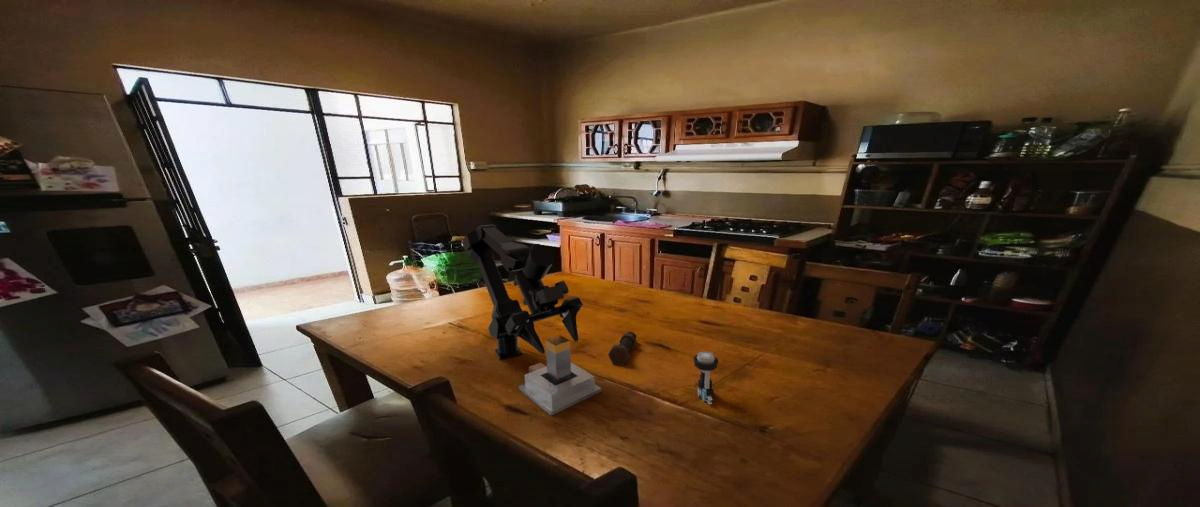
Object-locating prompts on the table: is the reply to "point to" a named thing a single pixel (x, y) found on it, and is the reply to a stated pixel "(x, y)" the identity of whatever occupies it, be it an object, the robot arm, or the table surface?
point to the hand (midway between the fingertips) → (560, 346)
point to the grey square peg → (558, 359)
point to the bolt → (622, 349)
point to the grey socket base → (558, 388)
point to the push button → (705, 374)
